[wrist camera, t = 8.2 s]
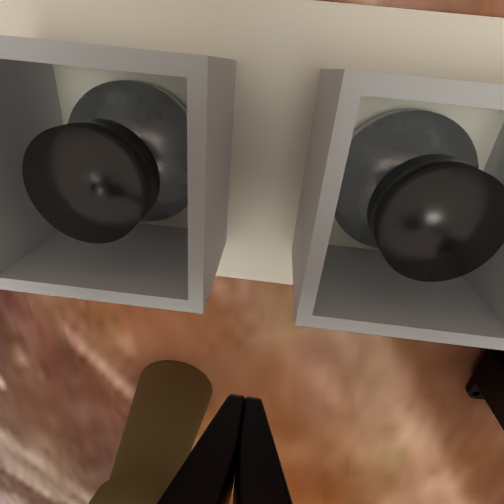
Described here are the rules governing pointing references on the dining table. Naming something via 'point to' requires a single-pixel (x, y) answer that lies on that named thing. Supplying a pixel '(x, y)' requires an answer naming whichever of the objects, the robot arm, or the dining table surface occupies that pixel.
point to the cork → (157, 433)
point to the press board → (253, 151)
